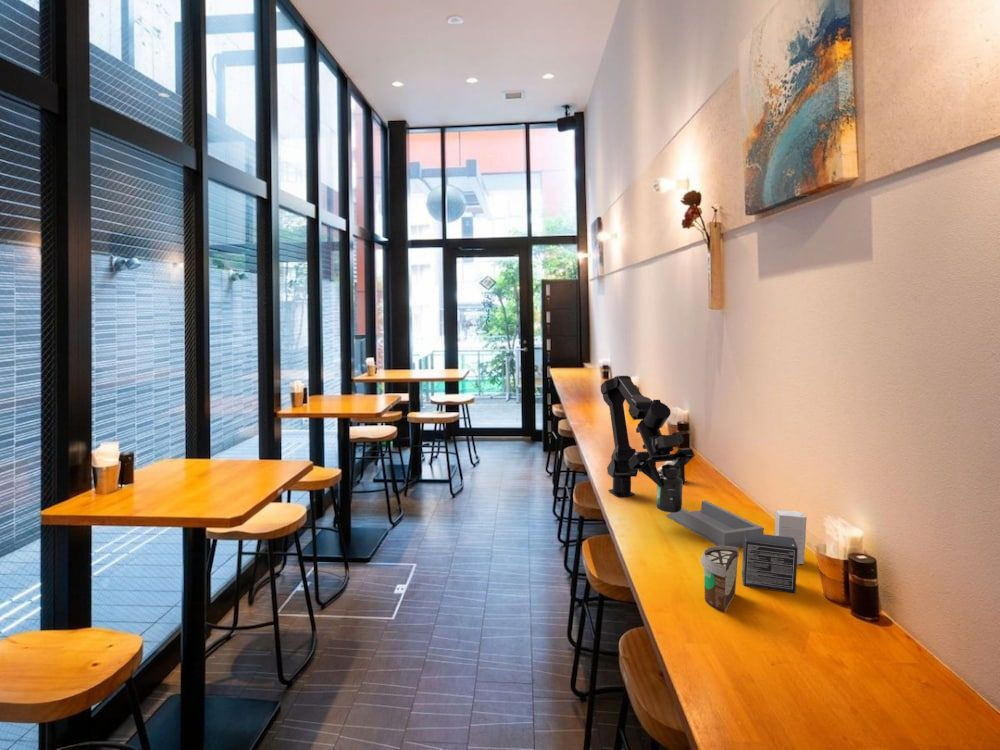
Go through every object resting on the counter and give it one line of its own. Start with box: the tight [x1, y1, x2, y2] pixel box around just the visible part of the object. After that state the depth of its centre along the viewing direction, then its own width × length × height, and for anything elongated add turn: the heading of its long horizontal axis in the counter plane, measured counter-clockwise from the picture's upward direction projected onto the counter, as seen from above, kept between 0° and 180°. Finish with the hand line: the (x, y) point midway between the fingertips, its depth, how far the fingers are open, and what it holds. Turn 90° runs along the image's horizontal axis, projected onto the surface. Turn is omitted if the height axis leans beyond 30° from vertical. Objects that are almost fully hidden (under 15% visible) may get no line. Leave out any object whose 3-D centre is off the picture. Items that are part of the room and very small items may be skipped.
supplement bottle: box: [655, 465, 684, 514], centre depth 158 cm, size 7×7×12 cm
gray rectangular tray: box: [665, 500, 765, 549], centre depth 158 cm, size 25×13×4 cm, turn 19°
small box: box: [741, 532, 798, 594], centre depth 126 cm, size 11×6×10 cm, turn 71°
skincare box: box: [774, 509, 807, 565], centre depth 138 cm, size 6×4×12 cm
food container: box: [700, 545, 740, 613], centre depth 119 cm, size 12×6×10 cm, turn 145°
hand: (672, 485), depth 157 cm, fingers closed on supplement bottle, 7 cm apart
